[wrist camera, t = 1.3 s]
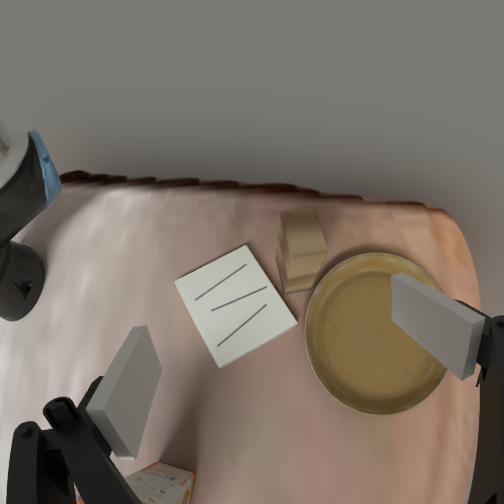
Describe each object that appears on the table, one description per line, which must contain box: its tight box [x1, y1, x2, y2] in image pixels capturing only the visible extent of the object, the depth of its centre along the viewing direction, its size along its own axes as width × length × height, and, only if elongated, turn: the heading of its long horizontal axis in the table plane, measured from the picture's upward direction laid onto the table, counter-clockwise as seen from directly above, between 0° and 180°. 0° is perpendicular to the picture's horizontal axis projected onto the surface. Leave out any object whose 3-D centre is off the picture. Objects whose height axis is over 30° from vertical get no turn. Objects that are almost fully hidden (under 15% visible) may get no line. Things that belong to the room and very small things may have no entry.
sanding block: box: [276, 207, 328, 294], centre depth 39 cm, size 6×4×12 cm, turn 10°
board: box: [174, 245, 297, 369], centre depth 41 cm, size 14×12×2 cm
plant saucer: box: [304, 252, 448, 416], centre depth 38 cm, size 24×24×3 cm
